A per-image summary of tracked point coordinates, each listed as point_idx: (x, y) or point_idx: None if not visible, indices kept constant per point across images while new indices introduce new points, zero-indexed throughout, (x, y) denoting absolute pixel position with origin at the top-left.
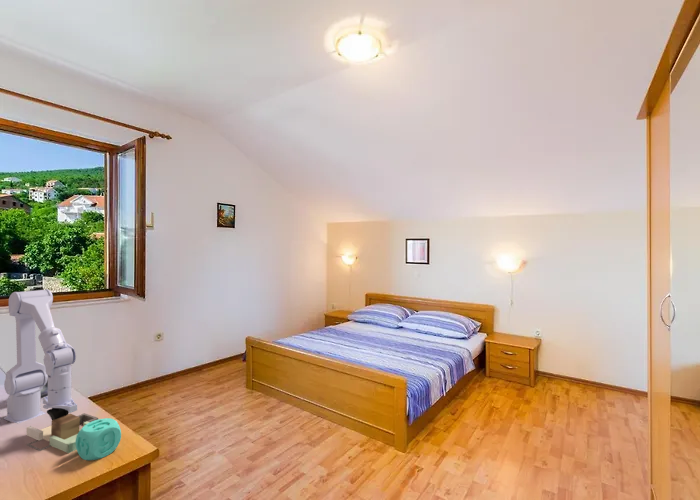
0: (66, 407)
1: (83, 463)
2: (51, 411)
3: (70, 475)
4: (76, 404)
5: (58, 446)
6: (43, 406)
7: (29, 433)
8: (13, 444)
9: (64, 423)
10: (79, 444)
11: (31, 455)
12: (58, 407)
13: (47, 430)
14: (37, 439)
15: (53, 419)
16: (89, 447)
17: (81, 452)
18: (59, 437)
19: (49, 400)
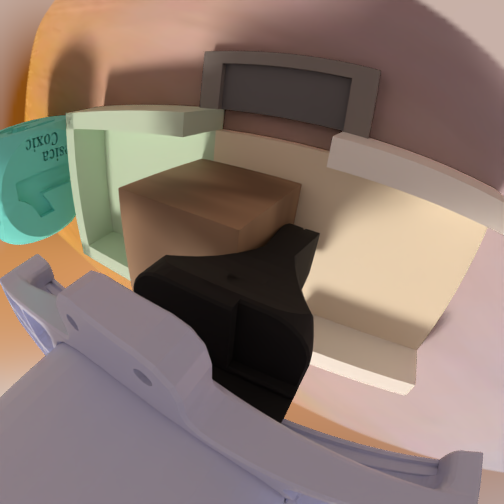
0: (19, 286)
1: (56, 105)
2: (173, 293)
3: (48, 64)
4: (17, 316)
5: (136, 106)
6: (137, 338)
7: (475, 183)
8: (490, 96)
9: (122, 212)
10: (33, 125)
11: (232, 24)
12: (47, 299)
13: (416, 261)
14: (364, 138)
15: (251, 257)
16: (11, 126)
17: (50, 119)
18: (200, 165)
19: (40, 432)
